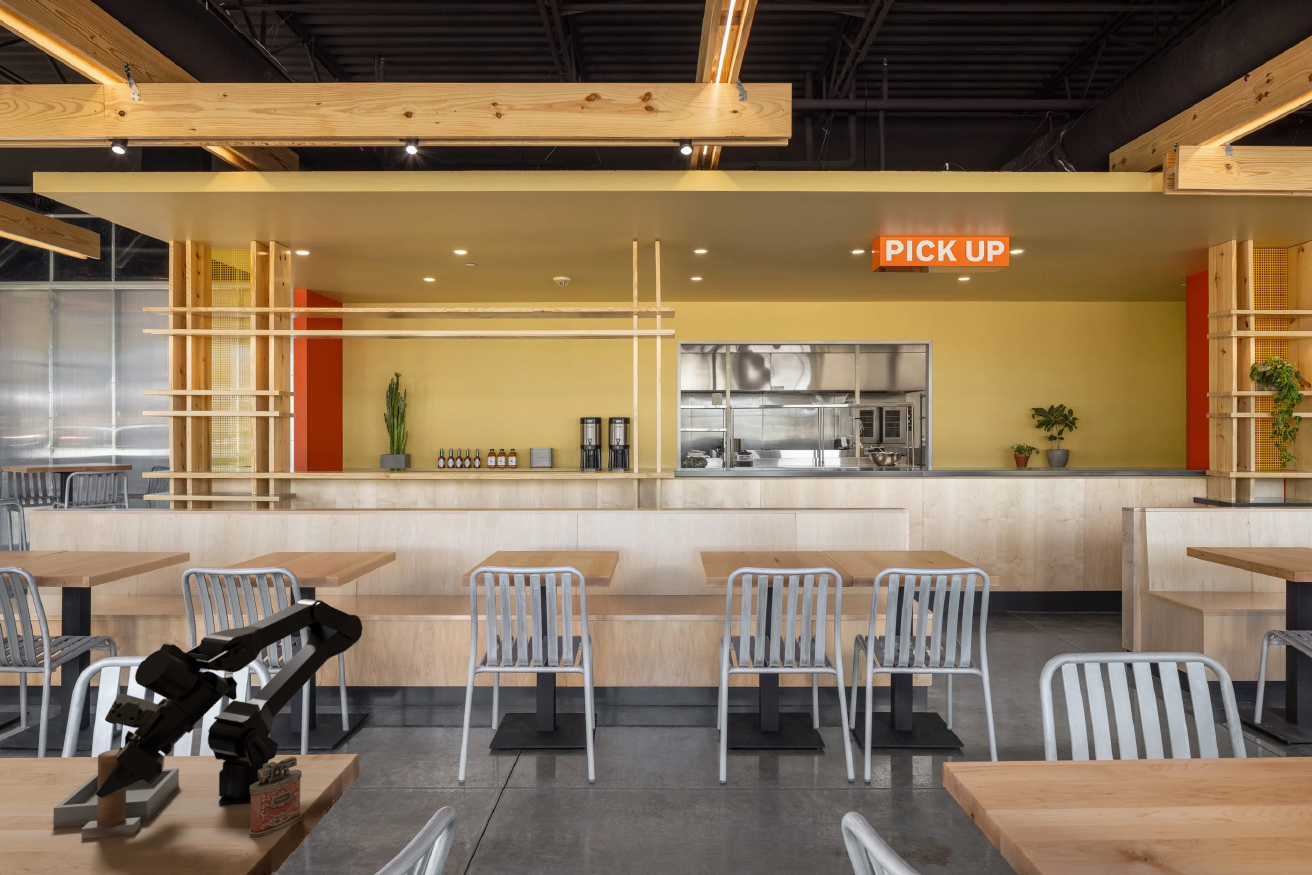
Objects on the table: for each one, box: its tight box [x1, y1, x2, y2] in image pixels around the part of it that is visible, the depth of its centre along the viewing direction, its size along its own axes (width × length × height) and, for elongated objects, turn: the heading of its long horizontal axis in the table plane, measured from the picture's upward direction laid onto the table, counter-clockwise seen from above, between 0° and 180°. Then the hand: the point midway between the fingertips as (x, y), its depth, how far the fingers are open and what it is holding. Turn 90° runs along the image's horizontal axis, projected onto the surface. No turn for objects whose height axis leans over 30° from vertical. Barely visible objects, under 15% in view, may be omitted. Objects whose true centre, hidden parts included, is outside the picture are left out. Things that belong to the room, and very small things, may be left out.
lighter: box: [248, 756, 303, 840], centre depth 123 cm, size 8×3×10 cm, turn 148°
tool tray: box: [52, 767, 180, 828], centre depth 130 cm, size 13×13×3 cm
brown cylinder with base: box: [81, 748, 141, 840], centre depth 121 cm, size 7×4×12 cm, turn 102°
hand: (100, 790), depth 121 cm, fingers closed on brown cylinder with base, 4 cm apart
